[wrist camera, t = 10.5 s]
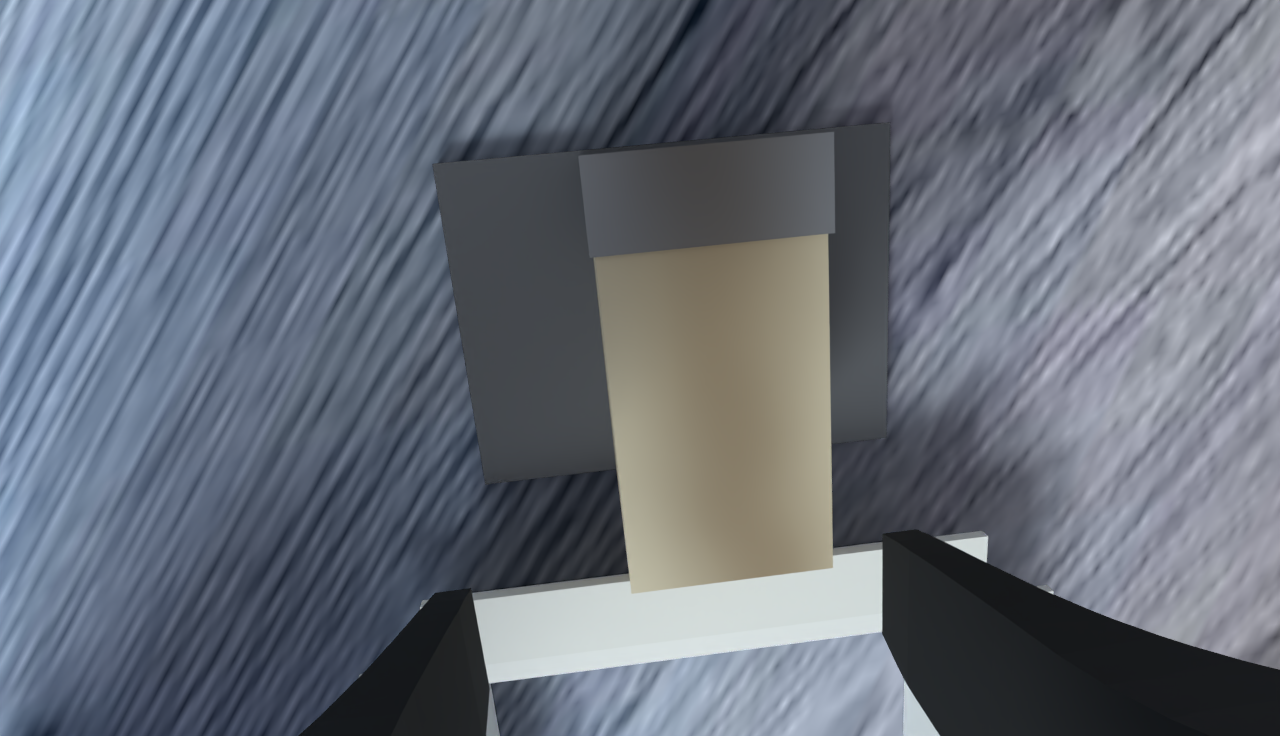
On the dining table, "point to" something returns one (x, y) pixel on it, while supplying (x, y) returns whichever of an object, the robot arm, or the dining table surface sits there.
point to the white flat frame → (686, 619)
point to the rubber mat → (569, 313)
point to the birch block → (717, 353)
